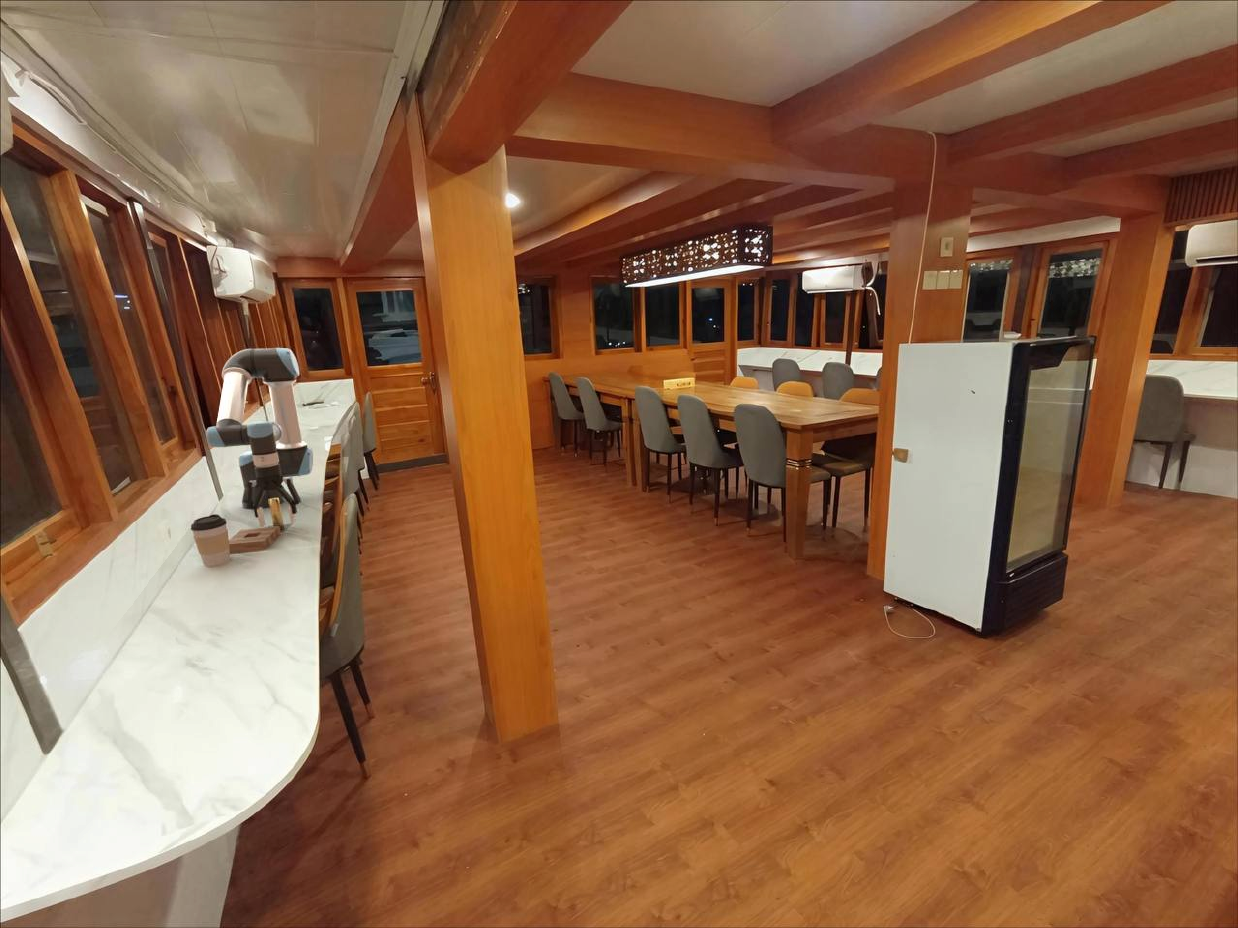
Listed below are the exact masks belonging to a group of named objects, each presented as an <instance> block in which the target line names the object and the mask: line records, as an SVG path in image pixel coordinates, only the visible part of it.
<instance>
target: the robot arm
mask: <svg viewBox="0 0 1238 928" xmlns="http://www.w3.org/2000/svg"><path fill="white" fill-rule="evenodd" d="M299 376H300V366H299V364H298V361H297V358H296V356H295V354H294V352H293V351H292V350H291V349H290V348H286V347H285V348H283V347H274V348H273V347H272V348H271V347H269V348H267V347H266V348H246V349H242V350H240V351H238V352H235V354H233V355H232V356H231V357H230V358H228V360H227V361H226V362H225V364H224V366H223V368H222V372H221V378H222V379H223V384H222V385H223V386H222V392H221V397H220V402H219V403H220V404H219V409H218V415H217V420H216V425H215V426H214V425H213V426H210V427H209V426H208V427H207V428H206V433H205V437H206V440H207V444H209V446H210V447H211V448H228V447H230V448H231V447H240V446H242V447H243V446H250V449H251V450H248V451H246V452H245V451H244V452H242V453H241V454H239V456H238V466H239V469H240V470H239V471H240V475H241V478H242V479H241V481H242V485H243V495H242V497H241V498H242V499H241V506H242V508H244V509H253V513H254V517H255V518H258V522H259V528H263V527H264V526H265V525H266V521H265V516H264V515H265V514H264V511H263V509H265V508H270V506H269V501H268V499H270V498H279V502H280V504H281V503H283V502H284V501H285V502H287V503H288V504H289V506H288V513H289V518H290V520H289V521H290V524H291V525H293V524H294V523H296V521H297V520H296V519H297V518H296V514H297V513H298V509H297V505H299V504H300V503H301V502H302V499H301V497H300V495H299V493H298V491H297V489H296V487H295V485H294V482H293V478H294V477H301V476H308V475H310V474H311V473H312V471H313V467H314V453H313V448H310V447H308V444H307V442H306V441H303V438H302V432H301V431H302V430H301V427H300V421H299V414H298V408H297V407H298V406H297V402H296V397H295V390H294V384H295V383H296V381H297V377H299ZM255 378H256V379H260V378H262V382H263V384H265V385H267V386H268V390H269V395H270V402H271V408H272V412H273V419H274V421H269V420H258V421H256V420H255V421H252V422H249V423H247V424H243V421H244V413H245V406H246V398H247V393H248V385H249V384H251V382H252V379H255ZM277 442H278V444H276V443H277ZM283 482H284V484H285V485H286V487H287V489H288V491H289V492H288V491H287V490H286V489H285V486H284V485H283ZM289 493H290V494H289Z"/></svg>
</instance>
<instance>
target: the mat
mask: <svg viewBox="0 0 1238 928" xmlns="http://www.w3.org/2000/svg"><path fill="white" fill-rule="evenodd" d="M283 524H284V530H282V531H280V533H281V534H285V532H286V531H287V530H288V529H289V528H290V527H291V526H292V524H291V523H283ZM267 527H273V524H272V525H267Z"/></svg>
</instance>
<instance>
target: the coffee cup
mask: <svg viewBox="0 0 1238 928" xmlns="http://www.w3.org/2000/svg"><path fill="white" fill-rule="evenodd" d="M190 526H191V527H190V531H192V533H193V539H194V542H195V545H196V548H197V551H198V553H199V555H200V558H201V560H202V564H203V565H204V567H207V568H208V567H209V568H212V567H218V566H221V565H225V564H227V563H229V562H230V561H231V553H230V552H229V540H230V539H229V532H228V531H229V530H228V528H227V520H226V519H225V518H223V517H222V516H220V515H219V514H216V513H215V514H214V513H213V514H210V515H207V516H204V517H200V518H197V519H195V520H193V523H192V524H190Z"/></svg>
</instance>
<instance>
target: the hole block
mask: <svg viewBox="0 0 1238 928" xmlns="http://www.w3.org/2000/svg"><path fill="white" fill-rule="evenodd" d="M281 535H282V533H280V527H279V526H275V527H268V526H265V527H256V528H246V529H240V530H239V531H238V532H237V533H235V534H234V535H233V536H232V537H231V538H230V539H229V552H230V554H235V553H244V552H255V551H263V550H264V551H265V550H268V549H269V548H270V546H271V545H272V544H274V542H275V541H276V540H277V539H278V538H279V536H281Z"/></svg>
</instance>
